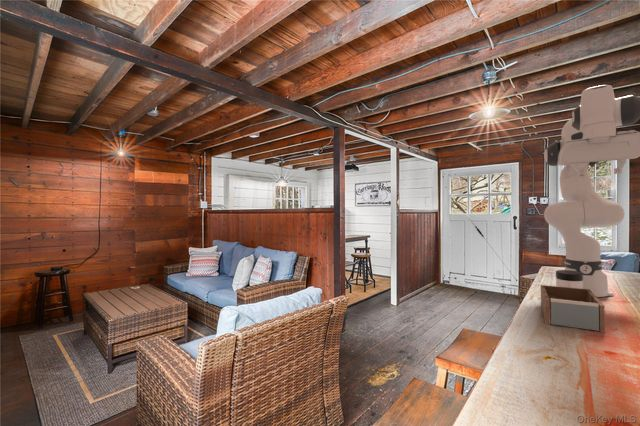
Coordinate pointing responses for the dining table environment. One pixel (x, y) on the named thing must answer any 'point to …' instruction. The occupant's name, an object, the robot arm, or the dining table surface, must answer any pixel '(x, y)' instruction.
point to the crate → (569, 294)
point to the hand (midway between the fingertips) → (598, 175)
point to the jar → (569, 279)
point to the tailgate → (575, 314)
